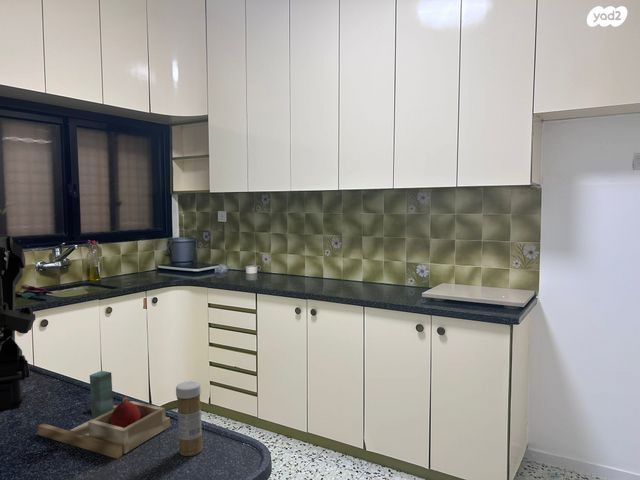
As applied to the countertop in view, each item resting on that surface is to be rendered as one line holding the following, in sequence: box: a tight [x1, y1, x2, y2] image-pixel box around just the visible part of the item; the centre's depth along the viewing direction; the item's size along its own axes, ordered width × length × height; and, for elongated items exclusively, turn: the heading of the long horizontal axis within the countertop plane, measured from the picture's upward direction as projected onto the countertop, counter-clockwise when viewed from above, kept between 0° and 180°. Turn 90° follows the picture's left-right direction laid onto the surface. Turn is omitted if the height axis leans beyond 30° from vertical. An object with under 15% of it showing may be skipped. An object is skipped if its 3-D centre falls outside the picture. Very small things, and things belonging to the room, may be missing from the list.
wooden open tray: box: [69, 370, 167, 454], centre depth 99 cm, size 16×11×12 cm, turn 65°
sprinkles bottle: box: [175, 380, 204, 457], centre depth 91 cm, size 5×5×14 cm
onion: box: [110, 397, 141, 428], centre depth 98 cm, size 6×6×8 cm
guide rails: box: [37, 401, 171, 460], centre depth 101 cm, size 24×14×2 cm, turn 65°
